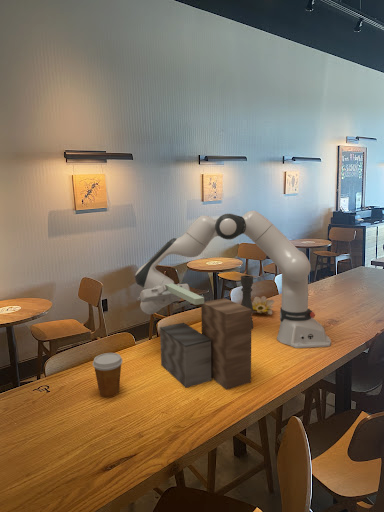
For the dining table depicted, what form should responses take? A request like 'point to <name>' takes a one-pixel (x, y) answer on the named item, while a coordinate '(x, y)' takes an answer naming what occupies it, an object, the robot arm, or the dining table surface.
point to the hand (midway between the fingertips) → (171, 286)
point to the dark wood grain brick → (186, 354)
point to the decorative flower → (262, 305)
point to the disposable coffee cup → (108, 373)
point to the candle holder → (247, 292)
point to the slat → (185, 294)
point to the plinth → (228, 341)
